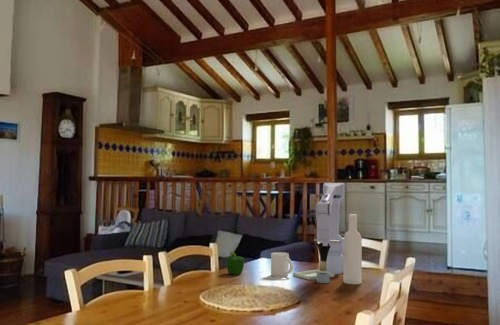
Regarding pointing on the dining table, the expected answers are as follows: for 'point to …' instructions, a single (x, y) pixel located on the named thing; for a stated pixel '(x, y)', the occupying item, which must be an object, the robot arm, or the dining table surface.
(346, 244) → the bottle
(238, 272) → the bell pepper
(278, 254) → the mug
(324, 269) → the dowel
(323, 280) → the cup
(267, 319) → the dining table surface
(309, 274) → the tray
